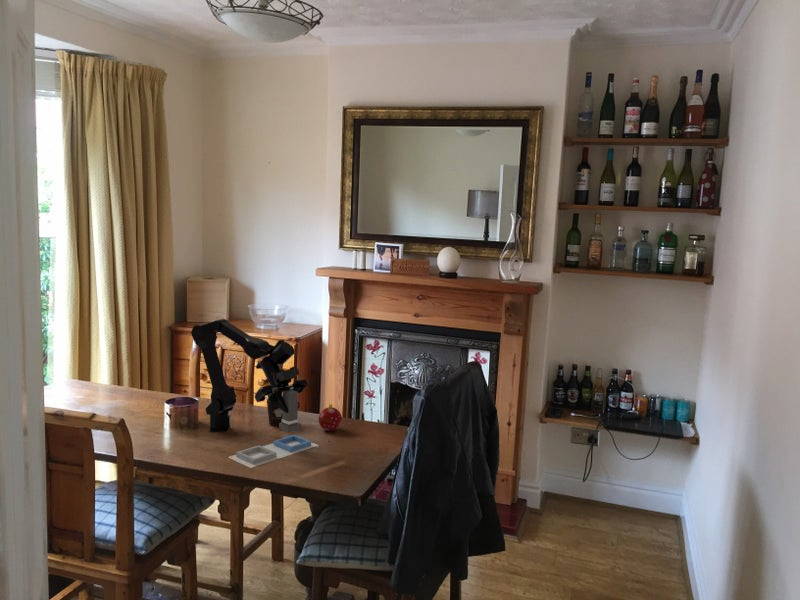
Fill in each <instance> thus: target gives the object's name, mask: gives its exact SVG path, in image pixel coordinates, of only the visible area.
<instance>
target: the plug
mask: <svg viewBox="0 0 800 600" xmlns="http://www.w3.org/2000/svg"><path fill="white" fill-rule="evenodd" d="M282 395H283V396H282V398H283V400H284V402H285V404H286V406H287V408H288V411H289V412H288V413H285V412H284V411H283V410H282V423H279V427H278V429H279V430H280V431H282V432H284V433H285V432H286V433H288V434H289V433H293V432H296V431H300V430H301V423H300V422H299V419H298V414H299V413H298V410H299V408H298V402H299V399H298V398H299V397H298V396H299V393H298V392H297V391H294V390H287V391H283V392H282Z"/></svg>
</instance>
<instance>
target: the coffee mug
mask: <svg viewBox="0 0 800 600" xmlns="http://www.w3.org/2000/svg"><path fill="white" fill-rule="evenodd" d="M282 396H283V394H282ZM268 399H269V398H268V396H267V397H266V406H267V414H268V425H269V426H271V427H275V426H278V428H279V423H282V410H281V409H280V408H279V407H277V406H276V405H274V404H273V403H271V402H268V401H267V400H268ZM299 408H300V402H299V401H298V409H299Z"/></svg>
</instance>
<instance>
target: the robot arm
mask: <svg viewBox="0 0 800 600" xmlns="http://www.w3.org/2000/svg"><path fill="white" fill-rule="evenodd" d="M190 332H191V334H190V335H191V337H192V339H193V342H194V344H195V345H196V346H197V347H198V348H199V349H200V350H201V353H202V357H203V360H204V363H205V368H206V370H207V373H208V377H209V380H210V383H211V393H210V400H211V401H210V403H209V404H208V405H207V407H205V413H206V415H207V416H208V415H209V429H208V431H209V432H228V431H229V429H230V428H231V421H232V420H231V417H232V416H231V415H230V411H233V409H234V406H235V405H236V403H237V397H238V396H237V394H236V392H235V387H234V386H229V385H228V384H227V382H226V378H225V375H224V371H223V367H222V365H221V360H220V358H219V354H218V351H217V348H216V344H217V339H218V335H217V334H218V333H220V334H221V335H223V336H225V337H226V338H228V339H229V340H230V341H232V342H233V343H235V344H236V345H239V346H240V347H241V348H242V350H243V351H244V353H245V354H246V356H248V357H249V358H250V359H251V360H258V361H257V363H256V366H255V369H257V370H260V369H261V370H262V372H263V374H264V376H265V378H266V379H265V380H264V381H265V383H266V384H269V385H264V386H260V387H259V389H258V390H257V391H256V393H254V399H255V401H256V402H257V403H261V402H265V400H266V402H267V401H268V402H271V403H273V404H274V405H276V406H277V407H279V408H280V409H281V410H283V411H284V412H285V413H288V412H289V411H288V408H287V406H286V404H285V402H284V400H283V398H282V395H283V391H287V390H294V391H297V392H298V394H301V393H302V392H304V390H305V389H307V388H306V387H308V386H309V382H308V380H307V379H306V378H299V379H296V378H297V376H299V375H300V370H299V368H298V366H297V365H295V366H291V367H290V368H289V369H284V368H283V369H282V368H281V365H284V364H286V362H288V361H289V360H290V358H292V356H294V355H295V352H296V351H295V348H294V346H293V345H291V344H290V343H288V341H285V340H284V339H279V340H278V341H277V342H276V343H275V345H272V344H270V343H269V342H268V341H267V340H264V339H262V338H259V337H254V336H252V335H249V334H248V333H246V332H244V331H243V330H242V329H240V328H238V327H237V326H235V325H234V324H232V323H231V322H229V320H228V319H226V318H221V319H215V320H214V321H212V322H205V323H201V324H195V325H194V326H192V329H191V331H190ZM261 358H262V359H261ZM259 359H261V360H259ZM293 379H295V380H294V382H293V383H292V380H293ZM290 383H292V384H290ZM266 396H267V397H268V398H269V399H268V400H267V397H266Z"/></svg>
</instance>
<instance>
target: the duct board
mask: <svg viewBox="0 0 800 600" xmlns="http://www.w3.org/2000/svg"><path fill="white" fill-rule="evenodd" d="M319 447H320V446H319V444H316V443H314V442H312V441H311V440H309V439H306V438H304V437H302V436H298V435H296V434H291V435H289V436H286V437H282V438H278V439H274V440H273V442H272V443H269V444H266V445H259V444H258V445H255V446H253V447H249V448H246V449H242V450H240V451H236V453H235V454H234V455H230V456H228V458H229V459H231V460H233V461H235V462H237V463H239V464H241V465H244V466H246V467H248V468H250V469H252V468H254V467H257V466H261V465H264V464H268V463H270V462H273V461H277V460H279V459H282V458H285V457H288V456H291V455H294V454H298V453H301V452H303V451H306V450H308V449H312V448H319ZM319 449H320V448H319Z"/></svg>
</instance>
